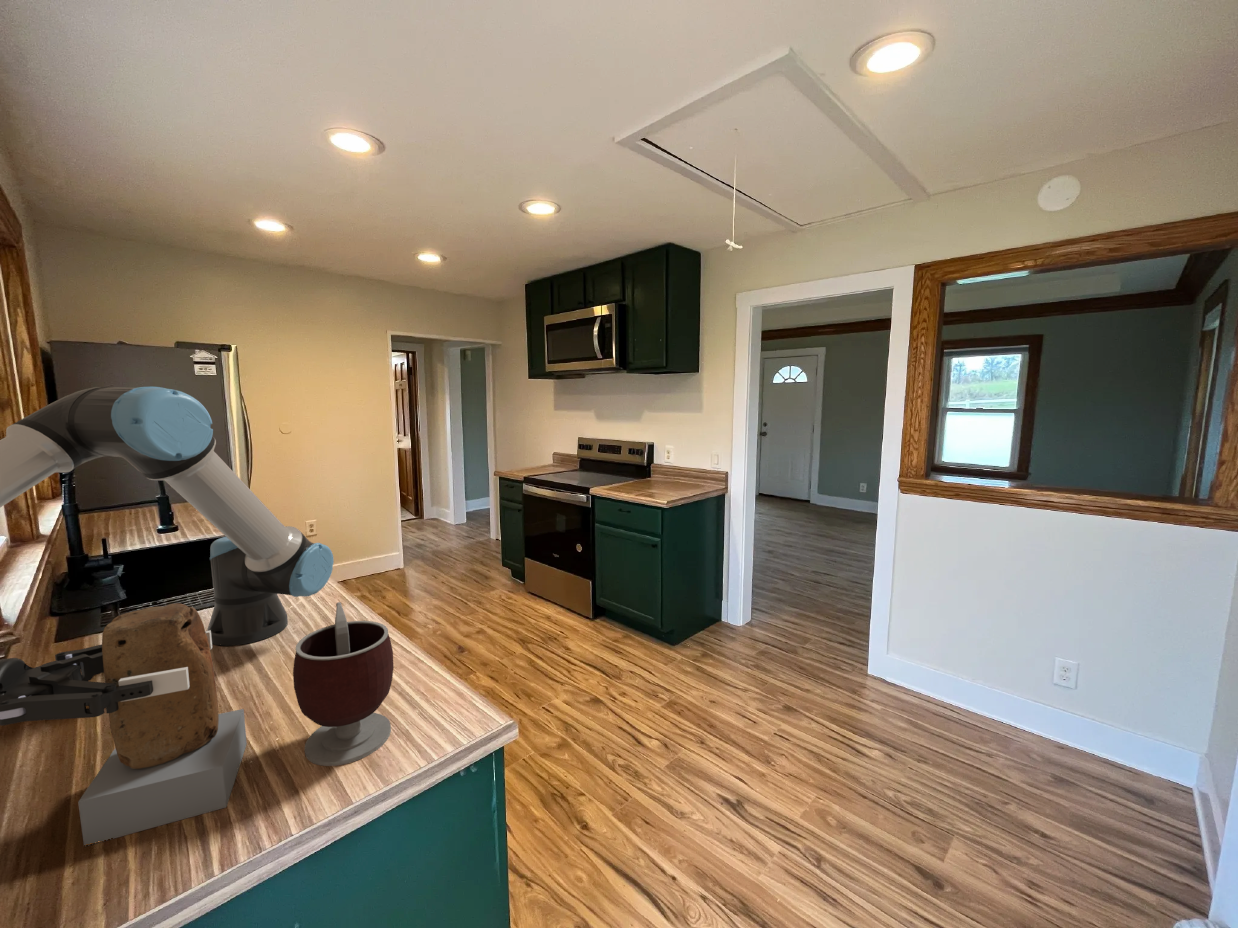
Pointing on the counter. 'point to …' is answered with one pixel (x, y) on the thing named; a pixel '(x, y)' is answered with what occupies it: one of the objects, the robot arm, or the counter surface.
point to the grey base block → (164, 786)
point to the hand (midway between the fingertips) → (200, 657)
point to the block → (167, 719)
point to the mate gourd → (344, 688)
